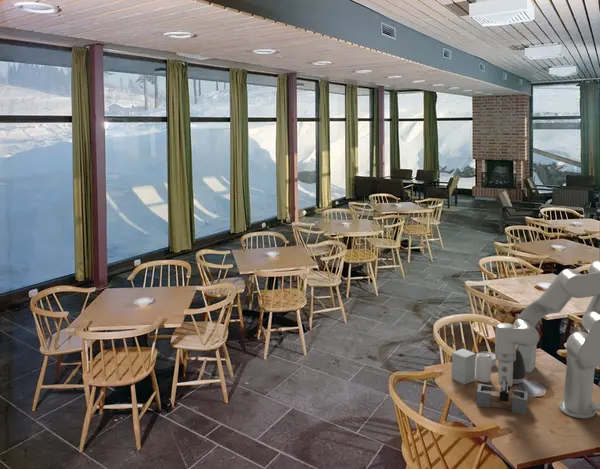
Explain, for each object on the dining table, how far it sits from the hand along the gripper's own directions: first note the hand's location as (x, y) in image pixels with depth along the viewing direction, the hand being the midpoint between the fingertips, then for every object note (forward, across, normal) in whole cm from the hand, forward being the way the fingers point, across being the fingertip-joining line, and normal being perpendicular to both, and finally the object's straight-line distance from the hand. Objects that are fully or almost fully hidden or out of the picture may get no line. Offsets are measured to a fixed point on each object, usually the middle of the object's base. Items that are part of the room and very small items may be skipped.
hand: (504, 395), depth 208 cm
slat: (+5, 0, +1) cm, 5 cm away
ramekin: (+5, +37, +10) cm, 38 cm away
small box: (+6, +39, -7) cm, 40 cm away
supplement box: (+4, +17, +18) cm, 25 cm away
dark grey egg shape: (+5, +23, -2) cm, 23 cm away
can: (+5, +20, +10) cm, 23 cm away
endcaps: (+4, 0, +1) cm, 5 cm away
